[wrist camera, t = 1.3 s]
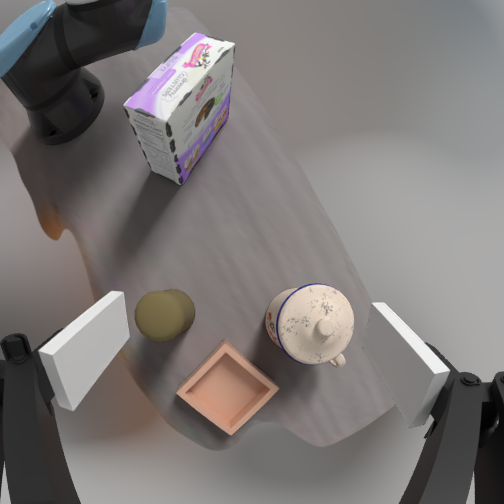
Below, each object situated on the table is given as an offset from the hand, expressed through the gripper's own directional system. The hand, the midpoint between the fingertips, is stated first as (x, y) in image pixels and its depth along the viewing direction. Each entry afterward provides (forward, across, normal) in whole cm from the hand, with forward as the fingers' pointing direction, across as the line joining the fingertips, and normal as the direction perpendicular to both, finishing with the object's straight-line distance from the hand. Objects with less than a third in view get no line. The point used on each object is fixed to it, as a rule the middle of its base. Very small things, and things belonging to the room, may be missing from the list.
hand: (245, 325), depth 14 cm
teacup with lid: (+22, +7, -12) cm, 26 cm away
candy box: (+30, -10, +14) cm, 35 cm away
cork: (+21, -10, -10) cm, 25 cm away
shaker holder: (+18, -3, -19) cm, 26 cm away
